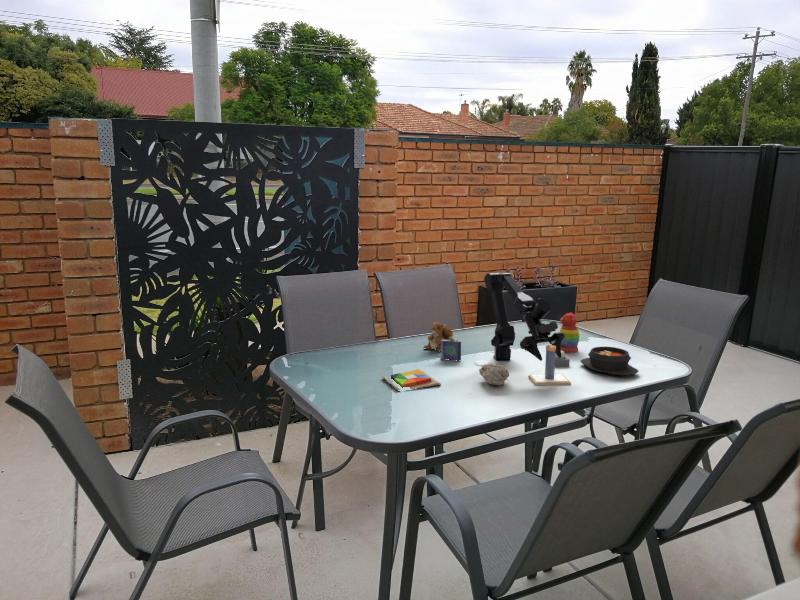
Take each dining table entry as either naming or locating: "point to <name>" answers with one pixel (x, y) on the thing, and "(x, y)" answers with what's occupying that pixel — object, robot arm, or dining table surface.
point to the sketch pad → (550, 380)
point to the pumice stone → (494, 374)
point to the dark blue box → (451, 349)
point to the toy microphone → (550, 361)
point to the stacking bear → (569, 333)
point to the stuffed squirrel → (438, 336)
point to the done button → (561, 355)
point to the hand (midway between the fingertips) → (551, 358)
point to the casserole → (609, 361)
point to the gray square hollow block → (562, 361)
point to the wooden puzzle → (412, 379)
